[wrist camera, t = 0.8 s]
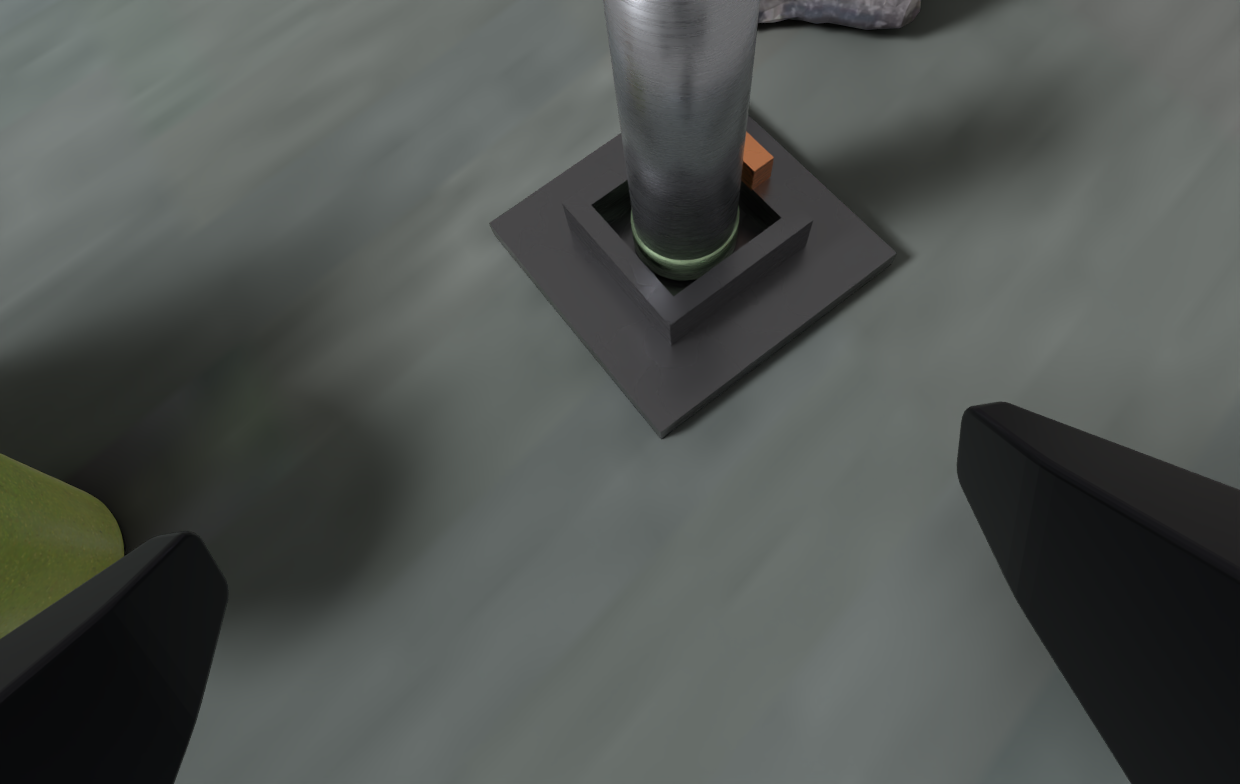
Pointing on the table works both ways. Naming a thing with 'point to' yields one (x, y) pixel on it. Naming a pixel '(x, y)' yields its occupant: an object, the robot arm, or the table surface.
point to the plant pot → (48, 541)
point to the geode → (842, 12)
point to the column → (683, 124)
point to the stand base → (694, 309)
